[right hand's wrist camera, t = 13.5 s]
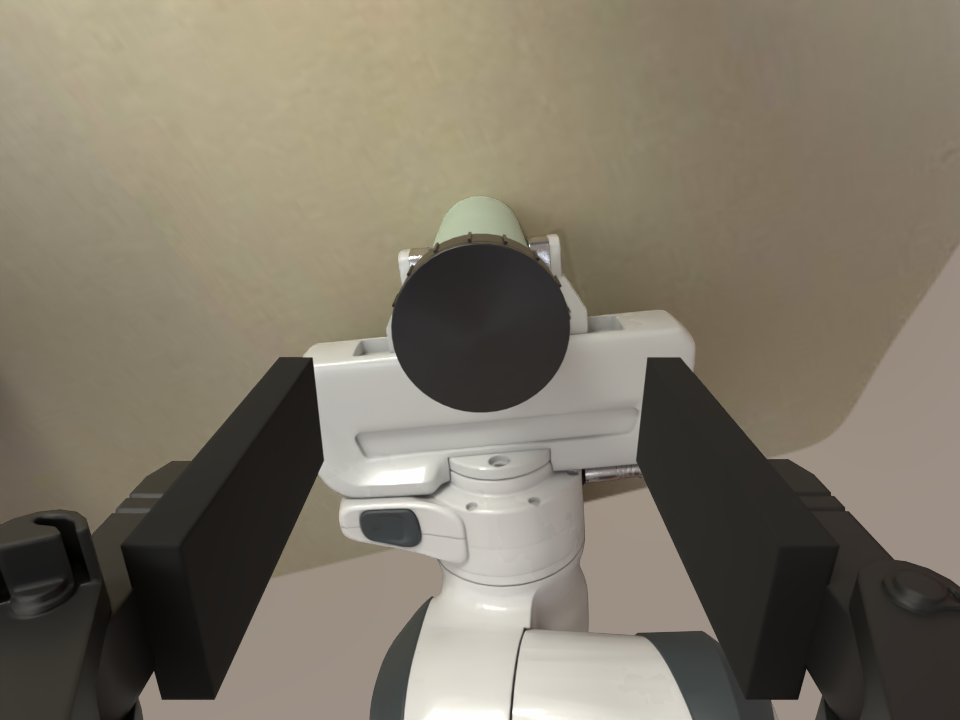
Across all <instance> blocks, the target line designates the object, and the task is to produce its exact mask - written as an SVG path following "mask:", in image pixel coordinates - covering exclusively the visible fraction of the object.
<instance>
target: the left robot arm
mask: <svg viewBox="0 0 960 720" xmlns="http://www.w3.org/2000/svg"><path fill="white" fill-rule="evenodd" d="M527 246H528V248H529V249H531V250H532V251H533V250H536V251H537V253H538V256H539V257H540V258H541V259H542V260H543V261H544V262H545V263H546V265H547V266H548V268H549V269H550V270H551V272H552V273H553V275H554V276H555V275H557V277H558V279H559V281H560V283H561V285H562V287H560V289H561V291H562V293H563V296H564V298H565V301H566V304H567V307H568V312H569V314H570V316H571V319H570V339H569V344H568V348H567V352H566V355H565V357H564V360H563V362H562V364H561V366H560V368H559V370H558V371H557V373H556V374H555V376H554V377H553V379H552V380H551V381H550V382H549V383H548V384H547V385H546V386H545V387H544V388H543V389H542V390H541V391H540V392H539V393H537V394H536V395H535V396H533V397H532V398H530V399H529V400H527V401H525V402H523V403H521V404H519V405H517V406H514V407H511V408H509V409H505V410H501V411H496V412H487V413H473V412H465V411H460V410H456V409H452V408H450V407H447V406H444V405H442V404H440V403H438V402H436V401H434V400H432V399H431V398H430V397H428V396H427V395H425V394H424V393H423V392H421V391H420V390H419V389H418V388H417V387H416V386H415V385H414V384H413V383H412V382H411V380H410V379H409V378H408V377H407V375H406V374H405V372H404V371H403V369H402V368H401V366H400V363H399V361H398V359H397V357H396V354H395V351H394V347H393V342H392V335H391V322H392V316H391V318H390V321H389V323H388V326H387V328H386V333H387V337H377V338H367V339H357V340H347V341H337V342H326V343H318V344H315V345H313V346H311V347H310V348H309V349H308V351H307V352H306V353H305V354H304V355H303V356H302V357H313V364H314V373H315V382H316V391H317V401H318V410H319V419H320V428H321V437H322V446H323V455H324V462H323V464H322V466H321V469H320V471H319V473H318V475H319V476H320V478H321V479H322V480H323V482H324V483H325V484H326V485H327V486H328V487H329V488H331V489H332V490H334V491H335V492H337V493H339V494H341V495H342V499H341V504H340V511H339V522H340V527H341V530H342V532H343V534H344V535H345V536H346V537H348V538H349V539H352V540H354V541H358V542H363V543H369V544H375V545H381V546H386V547H392V548H397V549H402V550H406V551H410V552H415V553H419V554H422V555H426V556H429V557H433V558H436V559H437V560H438V562H439V564H440V567H441V570H442V576H443V578H442V588H441V592H440V594H439V595H438V596H437V597H431V598H429V599H428V600H427V601H426V602H425V603H424V604H423V605H422V606H421V607H420V608H419V609H418V610H417V612H416V613H415V614H414V615H413V617H412V618H411V619H410V621H409V622H408V623H407V624H406V625H405V627H404V628H403V629H402V631H401V632H400V633H399V635H398V636H397V637H396V639H395V640H394V641H393V643H392V645H391V646H390V648H389V650H388V652H387V654H386V656H385V658H384V660H383V663H382V665H381V668H380V671H379V674H378V677H377V680H376V684H375V687H374V692H373V696H372V701H371V709H370V720H779V719H778V717H777V714H776V711H775V709H774V707H773V704H772V702H771V700H745V697H744V695H743V693H742V691H741V689H740V687H739V684H738V682H737V680H736V678H735V676H734V673H733V671H732V669H731V667H730V665H729V663H728V660H727V658H726V656H725V654H724V652H723V650H722V647H721V645H720V643H718V642H717V641H716V640H714V639H713V638H712V637H710V636H709V635H707V634H706V633H705V632H703V631H686V632H655V633H637V634H636V635H620V634H604V633H588V592H587V584H586V581H585V577H584V575H583V572H582V570H581V568H580V564H579V563H580V558H581V555H582V552H583V548H584V542H585V526H584V505H583V488H582V485H584V483H593V482H604V481H612V480H618V479H621V478H626V477H627V478H629V477H640V478H644V477H643V475H642V473H641V471H640V469H639V466H638V464H637V462H636V455H637V446H638V437H639V428H640V419H641V410H642V400H643V391H644V382H645V373H646V364H647V357H681V359H682V360H683V361H684V362H685V363H686V365H687V366H688V367H689V368H690V369H691V370H692V372H693V373H694V366H695V353H696V348H695V342H694V340H693V337H692V336H691V334H690V333H689V331H688V330H687V329H686V328H685V327H684V326H683V325H682V324H681V323H680V322H679V321H678V320H677V319H676V318H674V317H673V316H672V315H671V314H669V313H668V312H667V311H665V310H649V311H639V312H629V313H619V314H609V315H599V316H589V317H587V309H586V307H585V305H584V303H583V302H582V300H581V298H580V296H579V295H578V294H577V292H576V291H575V289H574V288H573V286H572V285H571V283H570V282H569V280H568V279H567V277H566V276H565V275H564V273H563V272H562V265H561V247H560V241H559V237H558V236H557V234H550V235H541V236H532V237H527ZM429 250H431V248H430V247H429V248H417V249H406V250H401V251H400V253H399V255H398V260H399V270H400V276H401V283H402V285H403V283H404V281H405V279H406V277H407V273H408V270H409V268H410V266H411V265H412V264H413V265H415V264H416V262H417V261H418V260H419V259H420V258H421V257H422V256H423V255H424V254H426V253H427V252H428V251H429Z"/></svg>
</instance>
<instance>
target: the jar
mask: <svg viewBox="0 0 960 720" xmlns="http://www.w3.org/2000/svg"><path fill="white" fill-rule="evenodd" d="M468 232H471V233H472V234H493V235H499V236H503V234H504V235H506V237H507V238H510V239H512V240H515V241H517V242H519V243H521V244H523V245H524V246H526V247H528V246H527V243H526V240H525V238H524V235H523V233H522V230H521V228H520V225H519V222H518V220H517V218H516V216H515V215H514V213H513V212H512V211H511V209H510V208H509V207H508V206H506V205H505V204H504V203H502V202H501V201H499V200H497V199H494V198H491V197H486V196H474V197H469V198H466V199H464V200H461V201H460V202H458V203H456V204H455V205H454V206H453V207H452V208H451V209H450V210H449V211H448V212H447V213H446V215H445V217H444V218H443V220H442V223H441V226H440V228H439V231H438V234H437V236H436V239H435V242H434V244H433V247H434V246H435V244H436V243H437V242H438V243H439V244H440V243H442V242H444V241H447V240H449V239H452V238H454V237H458V236H462V235H468ZM433 247H432V248H433Z"/></svg>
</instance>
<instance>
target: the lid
mask: <svg viewBox="0 0 960 720" xmlns="http://www.w3.org/2000/svg"><path fill="white" fill-rule="evenodd" d="M560 287H562V285H561V283H560V281H559V279H558V277H557V275H555V276H554V275H553V273H552V272H551V270H550V269H549V268H548V266H547V265H546V263H545V262H544V261H543V260H542V259H541V258H540V257H539V256H538V253H537V251H536V250H533V251H532V250H531V249H529V248H528V247H526V246H524V245H523V244H521V243H519V242H517V241H515V240H512V239H510V238H507V237H506V235H504V234H503V236H499V235H493V234H472V233H471V232H468V235H462V236H458V237H454V238H452V239H449V240H447V241H444V242H442V243H440V244H439V243H438V242H437V243H436V244H435V246H434V247H433V248H432V249H431V250H429V251H428V252H427V253H426V254H424V255H423V256H422V257H421V258H420V259H419V260H418V261H417V262H416V264H415V265H413V264H412V265H411V266H410V268H409V270H408V273H407V277H406V279H405V281H404V283H403V285H402V288H401V290H400V292H399V294H397V296H396V298H395V300H394V302H393V305H392V307H394V309H393V313H392V322H391V335H392V342H393V347H394V351H395V354H396V357H397V359H398V361H399V363H400V366H401V368H402V369H403V371H404V372H405V374H406V375H407V377H408V378H409V379H410V380H411V382H412V383H413V384H414V385H415V386H416V387H417V388H418V389H419V390H420V391H421V392H423V393H424V394H425V395H427V396H428V397H430V398H431V399H432V400H434V401H436V402H438V403H440V404H442V405H444V406H447V407H450V408H452V409H456V410H460V411H465V412H473V413H487V412H496V411H501V410H505V409H509V408H511V407H514V406H517V405H519V404H521V403H523V402H525V401H527V400H529V399H530V398H532V397H533V396H535V395H536V394H537V393H539V392H540V391H541V390H542V389H543V388H544V387H545V386H546V385H547V384H548V383H549V382H550V381H551V380H552V379H553V377H554V376H555V374H556V373H557V371H558V370H559V368H560V366H561V364H562V362H563V360H564V357H565V355H566V352H567V348H568V344H569V339H570V319H571V316H570V314H569V312H568V307H567V304H566V301H565V298H564V296H563V293H562V291H561V289H560Z"/></svg>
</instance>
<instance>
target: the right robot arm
mask: <svg viewBox="0 0 960 720" xmlns="http://www.w3.org/2000/svg"><path fill="white" fill-rule="evenodd" d="M323 462H324V455H323V446H322V437H321V428H320V419H319V410H318V401H317V391H316V382H315V373H314V364H313V357H279V359H278V360H277V361H276V362H275V363H274V365H273V366H272V367H271V368H270V369H269V370H268V372H267V373H266V374H265V375H264V376H263V377H262V379H261V380H260V381H259V382H258V383H257V385H256V386H255V387H254V388H253V389H252V390H251V392H250V393H249V394H248V395H247V396H246V398H245V399H244V400H243V401H242V402H241V403H240V405H239V406H238V407H237V408H236V409H235V411H234V412H233V413H232V414H231V415H230V416H229V418H228V419H227V420H226V421H225V422H224V424H223V425H222V426H221V427H220V428H219V429H218V431H217V432H216V433H215V434H214V435H213V437H212V438H211V439H210V440H209V441H208V442H207V444H206V445H205V446H204V447H203V448H202V449H201V451H200V452H199V453H198V454H197V455H196V457H195V458H194V459H193V460H192V461H172V462H170V463H168V464H167V465H165V466H163V467H162V468H160V469H158V470H157V471H155V472H153V473H152V474H150V475H148V476H147V477H146V478H145V479H144V480H143V481H142V482H141V483H140V484H139V485H138V486H137V487H136V488H135V489H134V491H133V492H132V493H131V494H130V498H126V499H125V500H124V501H123V502H122V503H121V504H120V505H119V507H118V508H117V509H116V512H115V514H114V513H112V514H111V515H110V516H109V517H108V518H107V519H106V520H105V522H104V523H103V524H102V525H101V526H100V527H99V528H98V529H97V530H96V531H95V532H94V533H93V534H92V535H91V533H90V530H89V527H88V523H87V520H86V518H85V517H83V516H82V515H80V514H79V513H78V512H74V511H67V510H51V511H42V512H36V513H33V514H29V515H25V516H22V517H18V518H15V519H12V520H10V521H8V522H6V523H3V524H1V525H0V720H143V715H142V709H141V705H140V702H139V698H138V697H139V695H140V693H141V692H142V690H143V688H144V687H145V685H146V683H147V682H148V680H149V678H150V677H151V675H152V673H153V672H155V676H156V679H157V683H158V687H159V691H160V694H161V698H162V700H214V699H215V697H216V695H217V693H218V691H219V689H220V687H221V684H222V682H223V680H224V678H225V676H226V673H227V671H228V669H229V667H230V665H231V663H232V660H233V658H234V656H235V654H236V652H237V650H238V647H239V645H240V643H241V641H242V638H243V636H244V634H245V632H246V630H247V628H248V625H249V623H250V621H251V619H252V617H253V615H254V612H255V610H256V608H257V606H258V604H259V602H260V599H261V597H262V595H263V593H264V591H265V588H266V586H267V584H268V582H269V580H270V578H271V575H272V573H273V571H274V569H275V567H276V564H277V562H278V560H279V558H280V556H281V554H282V551H283V549H284V547H285V545H286V543H287V540H288V538H289V536H290V534H291V532H292V530H293V527H294V525H295V523H296V521H297V519H298V516H299V514H300V512H301V510H302V508H303V506H304V503H305V501H306V499H307V497H308V495H309V493H310V490H311V488H312V486H313V484H314V482H315V479H316V477H317V475H318V473H319V471H320V469H321V466H322V464H323ZM636 462H637V464H638V466H639V469H640V471H641V473H642V475H643V477H644V479H645V482H646V484H647V486H648V488H649V490H650V492H651V495H652V497H653V499H654V501H655V503H656V505H657V508H658V510H659V512H660V514H661V516H662V519H663V521H664V523H665V525H666V527H667V530H668V532H669V534H670V536H671V538H672V540H673V543H674V545H675V547H676V549H677V551H678V554H679V556H680V558H681V560H682V562H683V564H684V567H685V569H686V571H687V573H688V575H689V578H690V580H691V582H692V584H693V586H694V588H695V591H696V593H697V595H698V597H699V599H700V602H701V604H702V606H703V608H704V610H705V612H706V615H707V617H708V619H709V621H710V623H711V625H712V628H713V630H714V632H715V634H716V636H717V639H718V641H719V643H720V645H721V647H722V650H723V652H724V654H725V656H726V658H727V660H728V663H729V665H730V667H731V669H732V671H733V673H734V676H735V678H736V680H737V682H738V684H739V687H740V689H741V691H742V693H743V695H744V697H745V700H798V698H799V694H800V691H801V687H802V683H803V679H804V676H805V672H806V668H807V670H808V672H809V673H810V675H811V677H812V678H813V680H814V682H815V683H816V685H817V687H818V689H819V690H820V692H821V694H822V698H821V702H820V705H819V709H818V712H817V716H816V719H815V720H960V587H959V586H958V585H957V584H955V583H954V582H953V581H951V580H950V579H948V578H946V577H944V576H942V575H940V574H938V573H936V572H934V571H932V570H930V569H928V568H925V567H922V566H919V565H916V564H913V563H909V562H906V561H899V560H894V559H893V558H892V557H891V556H890V555H889V554H888V553H887V552H886V551H885V549H884V548H883V547H882V546H881V545H880V544H879V543H878V542H877V541H876V540H875V539H874V538H873V537H872V536H871V535H870V534H869V532H868V531H867V530H866V529H865V528H864V527H863V526H862V525H861V524H860V523H859V522H858V521H857V520H856V519H855V518H854V517H853V515H852V514H851V513H850V512H849V511H845V507H844V506H843V505H842V504H841V503H840V502H839V501H838V500H837V499H836V498H835V497H834V496H831V492H830V491H829V490H828V489H827V488H826V487H825V486H824V485H823V484H822V483H821V482H820V481H819V480H818V478H817V477H816V476H815V475H814V474H812V473H810V472H809V471H807V470H805V469H804V468H802V467H800V466H799V465H797V464H795V463H794V462H792V461H790V460H789V459H766V458H765V457H764V455H763V454H762V453H761V452H760V451H759V449H758V448H757V447H756V446H755V445H754V444H753V442H752V441H751V440H750V439H749V438H748V437H747V435H746V434H745V433H744V432H743V431H742V429H741V428H740V427H739V426H738V425H737V424H736V422H735V421H734V420H733V419H732V418H731V416H730V415H729V414H728V413H727V412H726V411H725V409H724V408H723V407H722V406H721V405H720V403H719V402H718V401H717V400H716V399H715V398H714V396H713V395H712V394H711V393H710V392H709V390H708V389H707V388H706V387H705V386H704V385H703V383H702V382H701V381H700V380H699V379H698V377H697V376H696V375H695V374H694V373H693V372H692V370H691V369H690V368H689V367H688V366H687V365H686V363H685V362H684V361H683V360H682V359H681V357H647V364H646V373H645V382H644V391H643V400H642V410H641V419H640V428H639V437H638V446H637V455H636Z"/></svg>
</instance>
